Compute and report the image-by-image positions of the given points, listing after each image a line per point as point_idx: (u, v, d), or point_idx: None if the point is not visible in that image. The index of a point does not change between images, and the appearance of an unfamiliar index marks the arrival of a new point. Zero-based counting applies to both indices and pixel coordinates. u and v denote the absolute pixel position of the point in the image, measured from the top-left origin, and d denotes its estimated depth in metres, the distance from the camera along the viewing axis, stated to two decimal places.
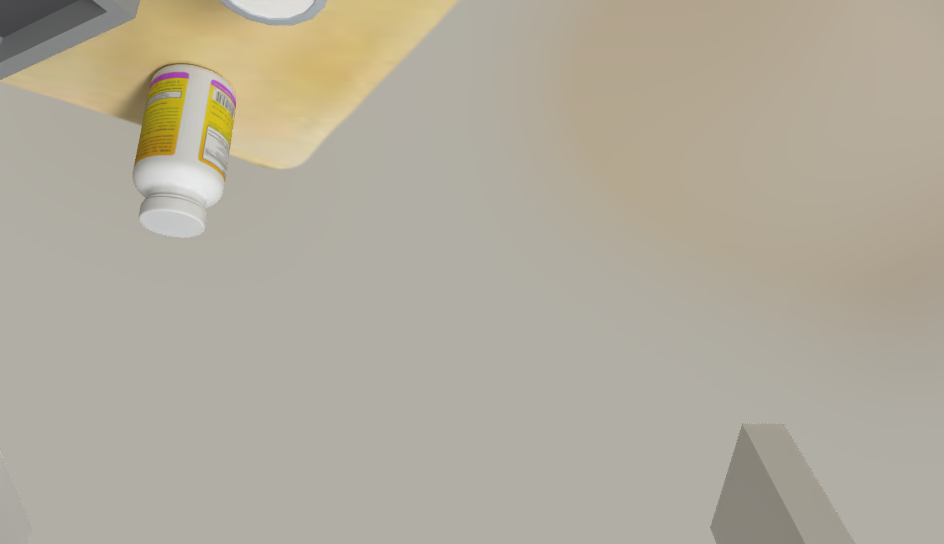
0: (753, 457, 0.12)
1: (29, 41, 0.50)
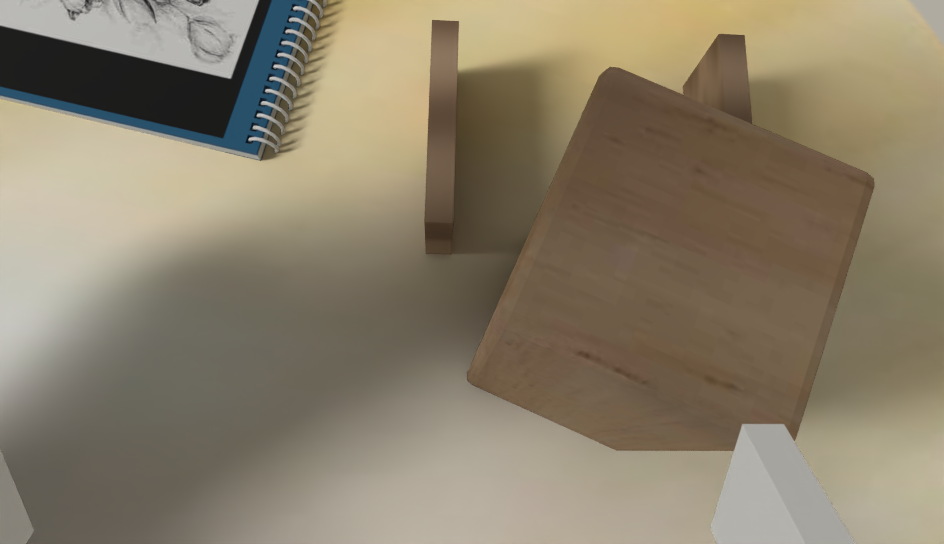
0: (752, 458, 0.12)
1: None
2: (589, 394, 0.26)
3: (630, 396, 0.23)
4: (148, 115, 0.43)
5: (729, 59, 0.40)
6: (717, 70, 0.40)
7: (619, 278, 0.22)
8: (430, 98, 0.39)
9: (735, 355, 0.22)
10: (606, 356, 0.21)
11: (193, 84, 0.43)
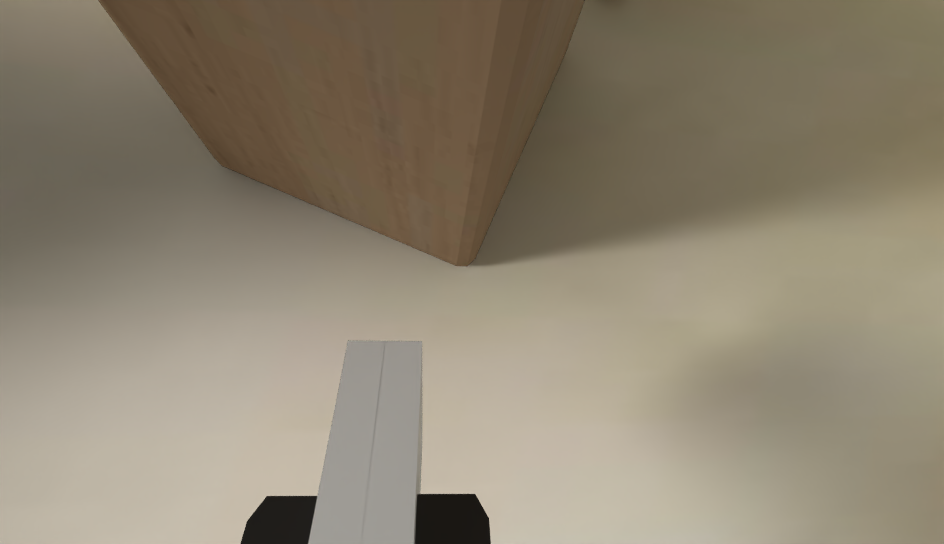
0: (383, 367, 0.14)
1: None
2: None
3: None
4: None
5: None
6: None
7: None
8: None
9: None
10: None
11: None
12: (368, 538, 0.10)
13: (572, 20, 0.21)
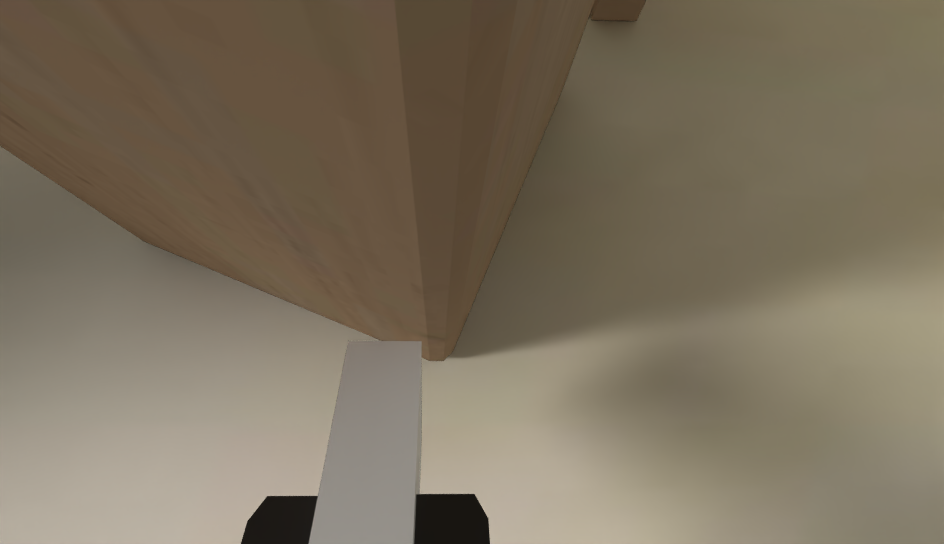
0: (382, 368, 0.14)
1: None
2: None
3: None
4: None
5: None
6: None
7: None
8: None
9: None
10: None
11: None
12: (367, 538, 0.10)
13: (566, 65, 0.17)
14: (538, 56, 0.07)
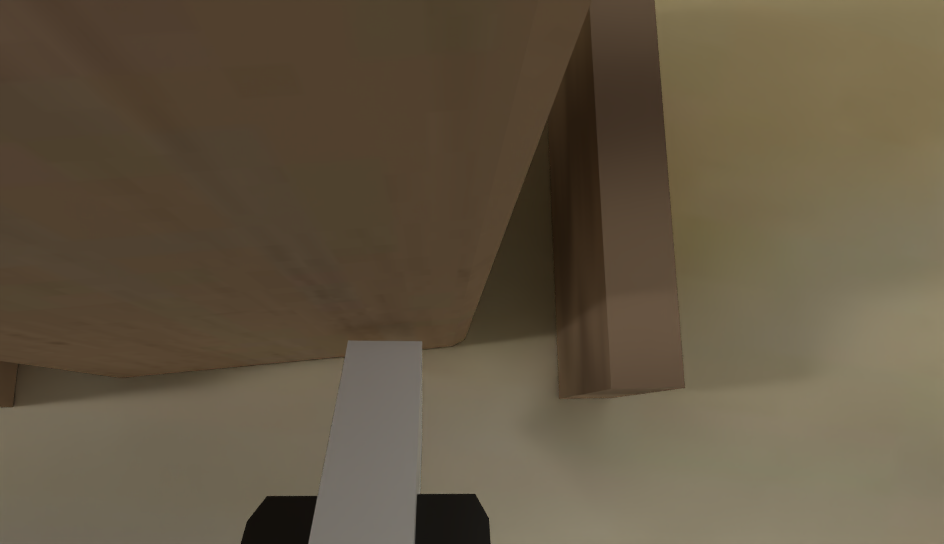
0: (382, 367, 0.14)
1: None
2: None
3: None
4: None
5: None
6: None
7: None
8: None
9: None
10: None
11: None
12: (368, 538, 0.10)
13: None
14: None
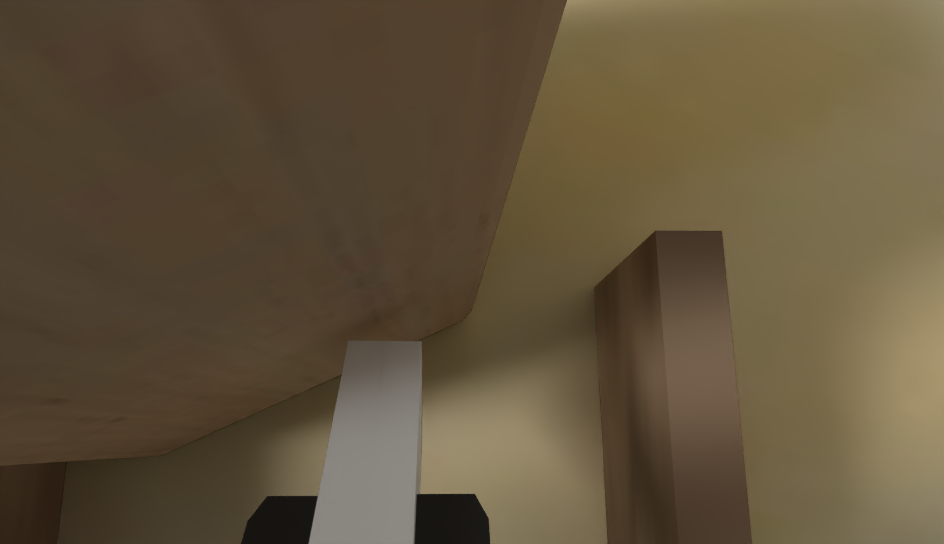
0: (382, 367, 0.14)
1: None
2: None
3: None
4: None
5: (684, 302, 0.15)
6: (654, 326, 0.16)
7: None
8: None
9: None
10: None
11: None
12: (368, 538, 0.10)
13: None
14: None
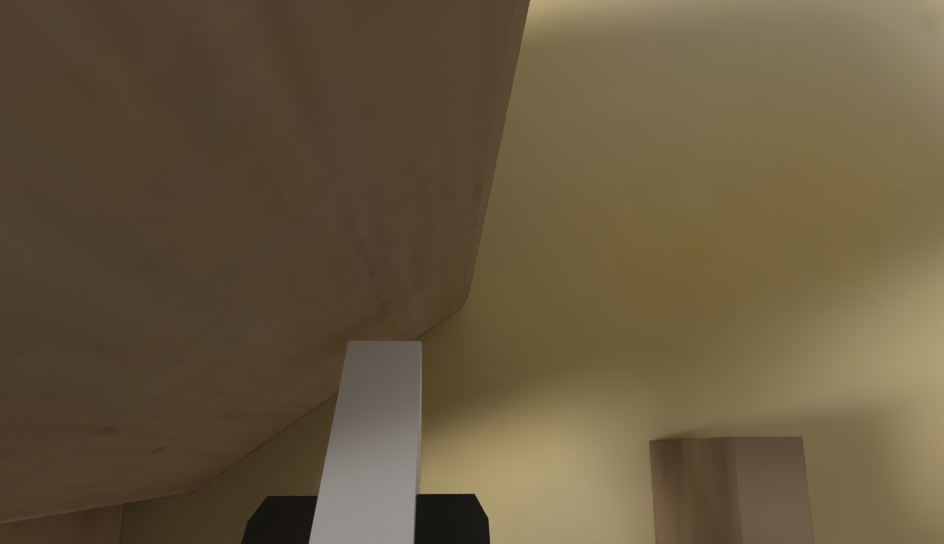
0: (382, 367, 0.14)
1: None
2: (61, 300, 0.06)
3: None
4: None
5: (764, 517, 0.15)
6: (732, 535, 0.15)
7: None
8: None
9: None
10: None
11: None
12: (367, 538, 0.10)
13: None
14: None
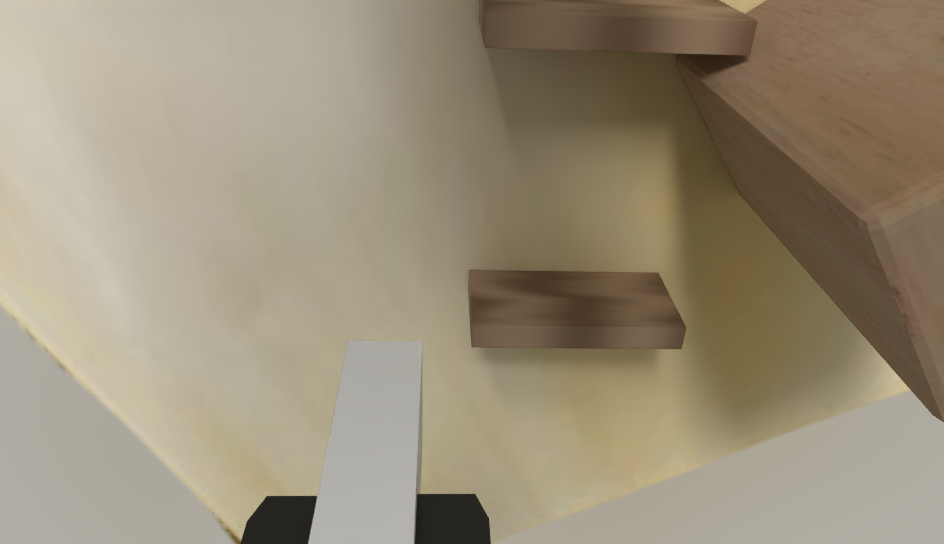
0: (383, 367, 0.14)
1: None
2: (825, 249, 0.27)
3: (874, 308, 0.25)
4: None
5: (656, 334, 0.40)
6: (647, 322, 0.40)
7: None
8: (648, 19, 0.31)
9: None
10: (909, 303, 0.22)
11: None
12: (368, 538, 0.10)
13: None
14: None
